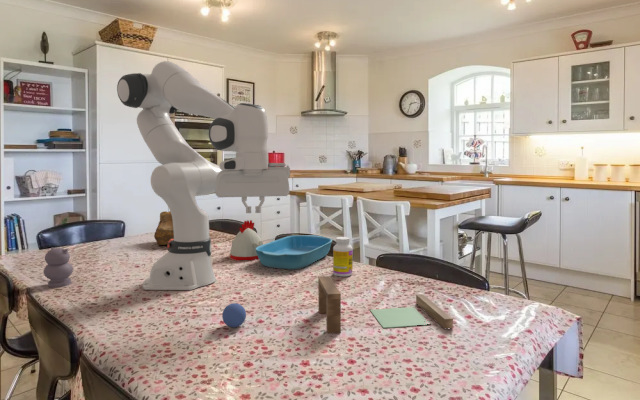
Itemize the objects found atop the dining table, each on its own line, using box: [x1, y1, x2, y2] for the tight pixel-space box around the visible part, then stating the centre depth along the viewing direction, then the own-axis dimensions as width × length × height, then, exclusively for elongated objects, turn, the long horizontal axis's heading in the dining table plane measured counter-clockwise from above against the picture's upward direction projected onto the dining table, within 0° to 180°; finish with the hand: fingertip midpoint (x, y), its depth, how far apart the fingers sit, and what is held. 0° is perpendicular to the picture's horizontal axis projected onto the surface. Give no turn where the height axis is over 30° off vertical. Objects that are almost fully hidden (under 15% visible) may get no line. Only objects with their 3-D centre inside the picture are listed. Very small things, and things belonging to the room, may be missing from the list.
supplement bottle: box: [332, 236, 353, 278], centre depth 147 cm, size 7×7×13 cm
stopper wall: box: [415, 293, 454, 329], centre depth 109 cm, size 2×18×2 cm, turn 9°
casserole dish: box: [256, 234, 333, 270], centre depth 168 cm, size 37×22×7 cm, turn 154°
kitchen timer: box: [229, 219, 264, 261], centre depth 174 cm, size 14×14×15 cm
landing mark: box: [369, 306, 431, 329], centre depth 108 cm, size 12×12×1 cm
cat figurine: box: [43, 247, 74, 289], centre depth 137 cm, size 8×8×12 cm
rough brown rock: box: [153, 210, 174, 246], centre depth 199 cm, size 23×17×15 cm
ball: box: [221, 302, 247, 328], centre depth 102 cm, size 6×6×6 cm
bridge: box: [317, 275, 342, 334], centre depth 105 cm, size 3×15×9 cm, turn 9°
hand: (253, 212), depth 119 cm, fingers closed
